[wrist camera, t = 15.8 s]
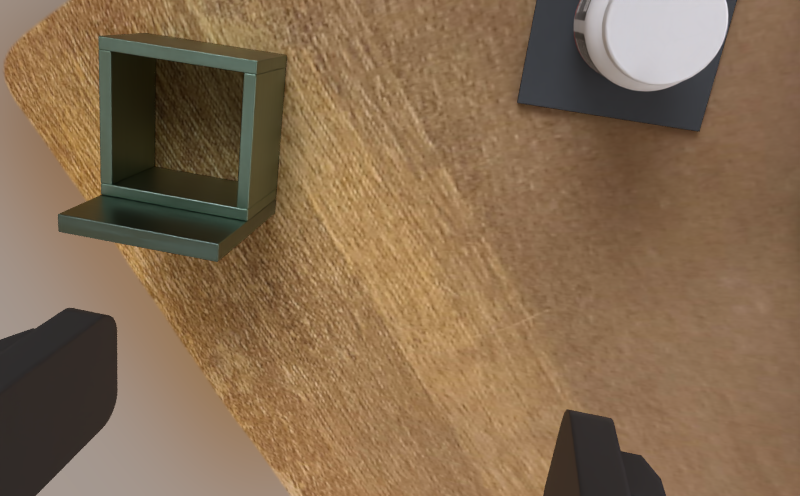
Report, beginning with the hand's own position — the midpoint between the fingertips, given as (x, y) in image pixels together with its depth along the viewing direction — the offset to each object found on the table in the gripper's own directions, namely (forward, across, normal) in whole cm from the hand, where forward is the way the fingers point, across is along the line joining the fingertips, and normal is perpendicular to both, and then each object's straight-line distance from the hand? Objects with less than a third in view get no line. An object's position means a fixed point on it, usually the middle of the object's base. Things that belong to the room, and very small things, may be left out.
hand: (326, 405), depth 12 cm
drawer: (+30, +15, +2) cm, 34 cm away
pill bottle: (+30, -8, -7) cm, 32 cm away
